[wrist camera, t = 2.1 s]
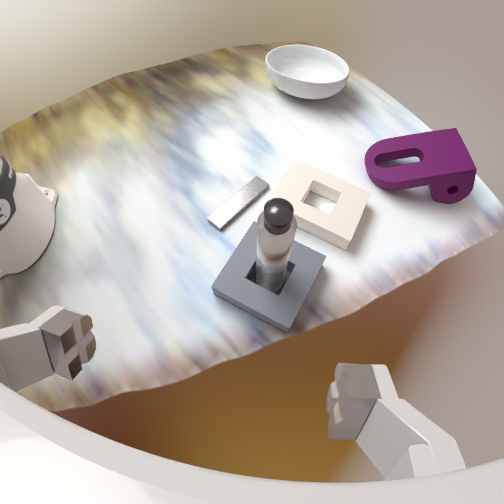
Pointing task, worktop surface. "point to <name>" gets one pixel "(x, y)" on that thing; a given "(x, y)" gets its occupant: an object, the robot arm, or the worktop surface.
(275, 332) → the worktop surface
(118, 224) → the worktop surface
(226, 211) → the bar
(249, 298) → the socket
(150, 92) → the worktop surface
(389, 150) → the mounting bracket
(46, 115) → the worktop surface
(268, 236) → the capped cylinder peg
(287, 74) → the cereal bowl
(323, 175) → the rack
